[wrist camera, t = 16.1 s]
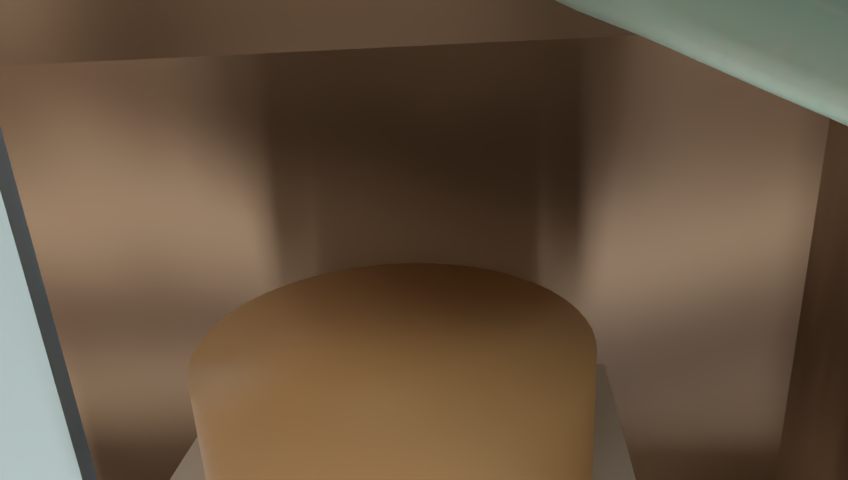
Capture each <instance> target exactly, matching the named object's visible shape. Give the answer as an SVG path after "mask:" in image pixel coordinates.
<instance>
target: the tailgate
mask: <svg viewBox="0 0 848 480" xmlns="http://www.w3.org/2000/svg"><path fill="white" fill-rule="evenodd" d="M0 480H97V476H96V472H95V469H94V465H93V462H92V458H91V454H90V451H89V447H88V443H87V440H86V436H85V432H84V429H83V425H82V421H81V418H80V414H79V411H78V407H77V403H76V400H75V396H74V392H73V389H72V385H71V381H70V378H69V374H68V371H67V367H66V363H65V360H64V356H63V352H62V349H61V345H60V341H59V338H58V334H57V330H56V327H55V323H54V320H53V316H52V312H51V309H50V305H49V301H48V298H47V294H46V290H45V287H44V283H43V280H42V276H41V272H40V269H39V265H38V261H37V258H36V254H35V250H34V247H33V243H32V239H31V236H30V232H29V229H28V225H27V221H26V218H25V214H24V210H23V207H22V203H21V199H20V196H19V192H18V188H17V185H16V181H15V178H14V174H13V170H12V167H11V163H10V159H9V156H8V152H7V148H6V145H5V141H4V138H3V134H2V130H1V127H0Z"/></svg>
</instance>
